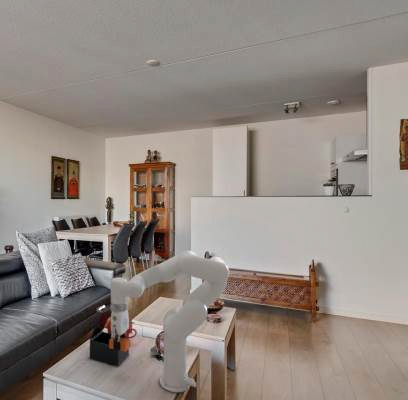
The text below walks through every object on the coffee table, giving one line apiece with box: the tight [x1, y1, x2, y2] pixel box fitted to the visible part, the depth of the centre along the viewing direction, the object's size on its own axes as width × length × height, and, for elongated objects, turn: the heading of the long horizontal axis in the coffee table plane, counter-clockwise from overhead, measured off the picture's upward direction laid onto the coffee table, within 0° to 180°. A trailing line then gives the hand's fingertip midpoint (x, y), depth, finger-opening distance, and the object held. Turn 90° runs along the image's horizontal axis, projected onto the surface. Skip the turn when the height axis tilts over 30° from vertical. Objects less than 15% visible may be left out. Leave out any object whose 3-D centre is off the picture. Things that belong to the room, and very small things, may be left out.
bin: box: [89, 331, 130, 368], centre depth 155 cm, size 16×13×9 cm
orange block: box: [109, 336, 131, 352], centre depth 139 cm, size 8×5×4 cm, turn 63°
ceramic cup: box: [106, 320, 138, 339], centre depth 171 cm, size 13×17×10 cm
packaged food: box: [149, 345, 164, 359], centre depth 158 cm, size 9×12×5 cm
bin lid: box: [89, 304, 112, 341], centre depth 158 cm, size 16×13×5 cm
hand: (119, 346), depth 139 cm, fingers closed on orange block, 5 cm apart
